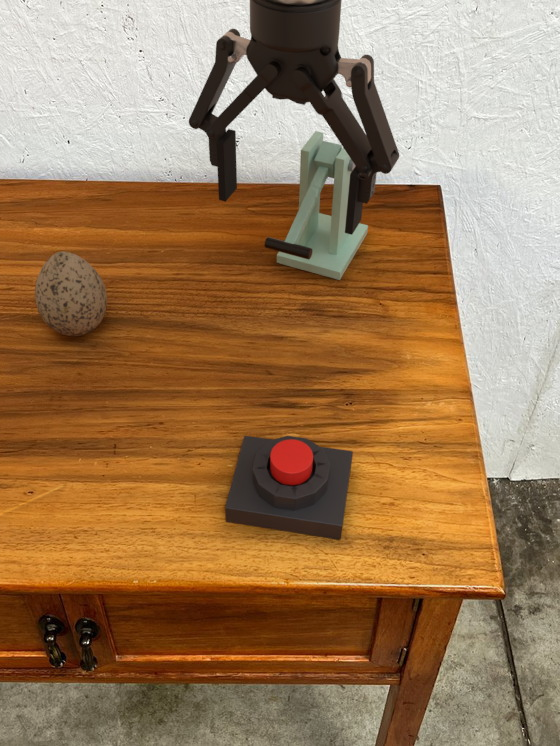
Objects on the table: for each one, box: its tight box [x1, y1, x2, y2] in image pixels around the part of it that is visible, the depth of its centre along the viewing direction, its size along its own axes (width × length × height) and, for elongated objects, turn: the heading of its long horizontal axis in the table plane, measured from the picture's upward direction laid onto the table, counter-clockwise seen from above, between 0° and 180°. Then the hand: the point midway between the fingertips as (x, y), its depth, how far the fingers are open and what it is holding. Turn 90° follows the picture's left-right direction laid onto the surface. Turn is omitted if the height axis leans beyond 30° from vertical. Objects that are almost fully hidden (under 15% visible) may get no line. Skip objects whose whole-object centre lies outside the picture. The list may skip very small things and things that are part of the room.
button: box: [270, 439, 313, 485], centre depth 66 cm, size 4×4×2 cm
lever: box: [264, 140, 343, 260], centre depth 83 cm, size 14×5×2 cm, turn 157°
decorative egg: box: [34, 250, 108, 337], centre depth 80 cm, size 7×7×10 cm
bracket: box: [276, 130, 369, 281], centre depth 89 cm, size 10×8×14 cm
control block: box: [224, 435, 354, 541], centre depth 68 cm, size 10×8×4 cm
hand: (289, 210), depth 78 cm, fingers open, 13 cm apart
